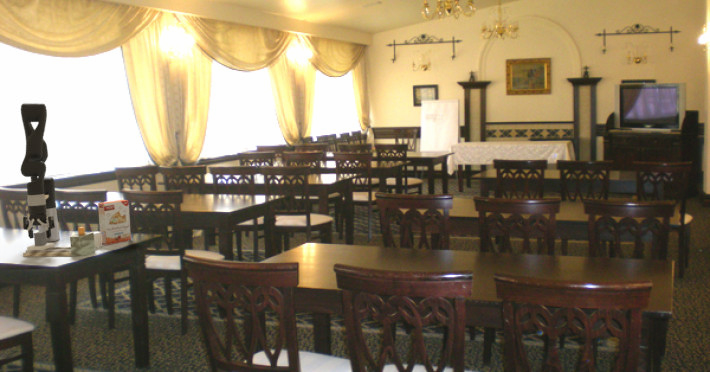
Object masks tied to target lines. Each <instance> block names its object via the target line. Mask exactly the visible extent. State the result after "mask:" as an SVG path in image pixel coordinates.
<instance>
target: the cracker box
mask: <svg viewBox="0 0 710 372" xmlns="http://www.w3.org/2000/svg"><path fill="white" fill-rule="evenodd" d="M97 206H98V208H97V209H98V210H97V211H98V223H99V232H101V245H106V246H107V245H112V244H117V243H123V242H128V240H129V241H131V240H132V237H131V236H132V235H131V234H132V233H131V220H130V207H129V206H130V203H129V200H127V199H118V200H112V201H111V200H110V201H104V202H98V203H97Z"/></svg>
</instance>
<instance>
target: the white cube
mask: <svg viewBox="0 0 710 372" xmlns="http://www.w3.org/2000/svg"><path fill="white" fill-rule="evenodd" d="M88 233H94V244H95V248H100V247H102V244H101V232H100V230H99V231H98V230H97V231H89V232H88Z"/></svg>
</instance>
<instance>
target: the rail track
mask: <svg viewBox="0 0 710 372" xmlns="http://www.w3.org/2000/svg"><path fill="white" fill-rule="evenodd" d="M69 241H70V242H69V243H70V246H53V247H51V248H48V249H45V250H27V249H25V252H22V257H85V256H87V255H90V254H92V253H94V252H95V251H96V247H95V244H94V233H89V232H85V235H79V233H78V234H74V235H71V236H69Z"/></svg>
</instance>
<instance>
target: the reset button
mask: <svg viewBox="0 0 710 372" xmlns="http://www.w3.org/2000/svg"><path fill="white" fill-rule="evenodd" d="M77 232H78V234H79V235H85V233H86V229H85V226H81V227H80V226H79V227H78V228H77Z"/></svg>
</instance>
